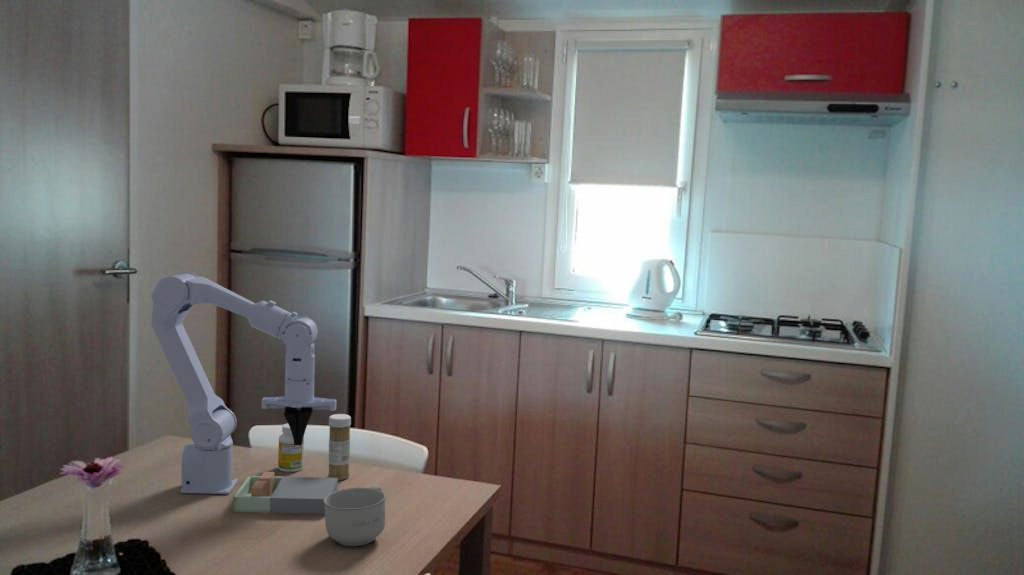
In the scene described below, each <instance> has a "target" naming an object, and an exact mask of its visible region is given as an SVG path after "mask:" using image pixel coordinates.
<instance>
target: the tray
mask: <svg viewBox="0 0 1024 575" xmlns="http://www.w3.org/2000/svg"><path fill="white" fill-rule="evenodd" d="M261 476H262V475H248V477H246V479H245V480H244V482H243V483H242V484H241V486H240V488H239V489H238V490H237V491H236V493H235V494H234V496H233V498H232V499H233V502H232V503H233V504H232V505H233V506H232V508H233V509H232V510H233V511H232V512H233V513H243V514H245V513H247V514H254V513H255V514H271V513H270V497H257V496H251V488H252V486H253V485H254V483H255V482H256V481H260V477H261ZM282 477H283V476H275V475H274V491H275V489H276V487H277V486H278V484H279V482H280V481H281V479H282ZM271 496H272V495H271Z"/></svg>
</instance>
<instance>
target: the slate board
mask: <svg viewBox="0 0 1024 575" xmlns="http://www.w3.org/2000/svg"><path fill="white" fill-rule="evenodd" d="M281 477H282V479H281V481H280V482H279V484H278V486H277V487H276V489H275V491H274V492H273V494H272V496H271V497H270V513H269V514H282V515H283V514H285V515H286V514H287V515H288V514H291V515H294V514H295V515H296V514H297V515H325V505H324V498H325V497H326V496H327V495H328V494H330V493H332V492H335V491H338V490H339V489H338V487H339V486H338V484H339V480H338V478H329V477H317V476H315V477H314V476H313V477H312V476H311V477H310V476H281Z"/></svg>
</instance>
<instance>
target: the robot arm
mask: <svg viewBox="0 0 1024 575" xmlns="http://www.w3.org/2000/svg"><path fill="white" fill-rule="evenodd" d="M150 296H151V300H152V313H151V314H152V315H151V327H152V329H153V332H154V334H155V336H156V338H157V340H158V342H159V344H160V346H161V349H162V350H163V353H164V355H165V357H166V359H167V361H168V363H169V365H170V368H171V370H172V372H173V374H174V377H175V378H176V381H177V383H178V385H179V387H180V390H181V391H182V394H183V396H184V398H185V400H186V403H187V405H188V412H187V419H188V422H189V425H190V437H191V440H192V443H193V444H192V443H191V444H190V443H189V444H186V445H185V447H184V449H183V452H182V455H181V488H180V489H181V490H179V492H180V493H181V494H203V495H204V494H206V495H207V494H210V495H211V494H213V495H228V494H229V495H230V493H231V491H232V490H233V489H234V488H235V486H236V485H237V483H238V482H239V479H238V478H233V471H234V469H233V465H234V464H233V463H234V462H233V460H234V459H233V458H234V457H233V455H234V454H233V452H234V451H233V450H234V447H233V445H234V441H233V439H232V434H233V433H234V431H235V430H236V428H237V423H238V421H237V417H236V415H235V413H234V412H233V411H232V410H231V409H230V408H228V406H226V404H225V401H224V400H223V399H222V398H221V397H220V396H218V395H217V394H216V393H215V392H214V389H213V387H212V385H211V383H210V381H209V379H208V375H207V374H206V372H205V369H204V368H203V365H202V363H201V362H200V359H199V356H198V355H197V351H196V350H195V348H194V346H193V344H192V342H191V339H190V337H189V335H188V333H187V331H186V328H185V327H184V324H183V323H184V322H185V319H186V317H187V315H188V313H189V311H190V309H191V308H192V307H193V305H201V304H211V305H214V306H217V307H219V308H222V309H225V310H227V311H229V312H232V313H233V314H237V315H239V316H242V317H244V318H246V319H247V321H248V323H249V326H250V327H251V328H254V329H255V330H258V331H260V332H262V333H265V334H267V335H268V336H271V337H272V338H276V339H277V340H282V341H283V343H284V345H285V362H284V363H285V365H284V366H285V367H284V368H285V369H284V370H285V371H284V372H285V373H284V396H271V397H270V396H268V397H266V396H264V397H263V398H262V399H261V409H262V410H267V409H284V412H283V416H284V418H285V420H286V422H287V423H288V424H289V426H290V429H291V432H292V435H293V440H294V445H302V443H303V438H304V439H305V433H306V430H307V426H308V424H309V421H310V420H311V418H312V417H311V416H312V414H313V413H314V410H325V411H330V412H335V411H336V409H337V402H338V401H337V399H336V398H326V397H316V396H315V371H316V369H315V367H316V364H315V363H316V360H315V359H316V355H315V348H316V347H315V342H314V341H315V340H316V339H317V337H318V334H319V328H318V325H317V323H316V322H315V321H314V320H313V319H311V318H310V317H309V316H307V315H300V316H298V315H299V314H298V313H297V312H296V311H292V312H290V311H287V310H285V309H284V308H281V307H280V306H277V302H276V301H274V300H269V301H265V300H261V301H258V302H256V303H255V302H253V301H252V300H249V299H248V298H246V297H244V296H242V295H240V294H238V293H236V292H235V291H232V290H230V289H228V288H226V287H224V286H222V285H220V284H219V283H216V282H214V281H213V280H210V279H209V278H207V277H205V276H204V277H203V276H198V275H197V274H196V273H195V272H194V273H193V272H189V271H185V272H181V273H179V274H176V275H171V276H165V277H163V278H161V279H160V280H159V281H157V284H156V285H155V286H154V289H153V291H152V292H151V295H150Z"/></svg>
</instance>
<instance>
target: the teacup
mask: <svg viewBox="0 0 1024 575" xmlns="http://www.w3.org/2000/svg"><path fill="white" fill-rule="evenodd" d="M386 499H387V496H386V494H385V492H384V491H383V489H382V487H381V486H379V485H372V486H370V487H349V488H343V489H338V491H335V492H332V493H330V494H328V495H327V496H326V497H325V498H324V505H325V514H324V521H325V522H324V523H325V528H326V531H327V532H326V533H327V534H328V536H329V537H330V538H331V539H332V540H334V541H336V543H338V544H340V545H342V546H345V547H359V546H365V545H367V544H370V543H372V542H373V541H375V540H376V538H377V537H378V536H379V535H381V533H382V532H383V531H384V529H385V525H386Z"/></svg>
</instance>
